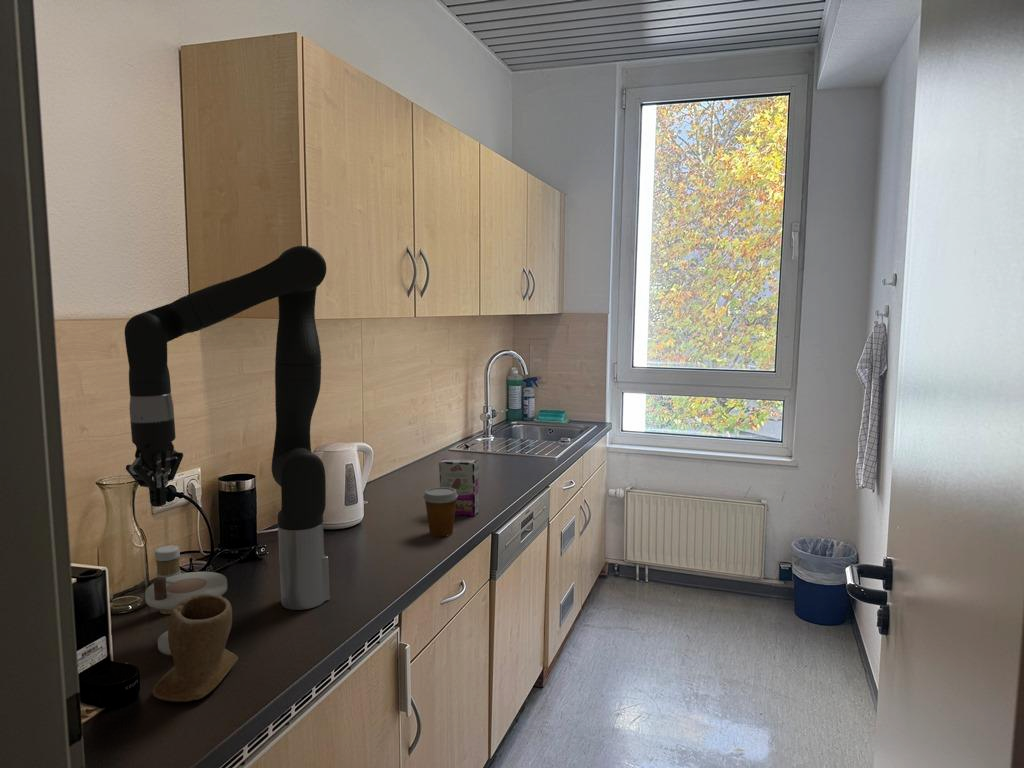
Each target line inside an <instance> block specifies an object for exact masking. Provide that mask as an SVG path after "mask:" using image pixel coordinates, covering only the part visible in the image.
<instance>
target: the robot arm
mask: <svg viewBox="0 0 1024 768" xmlns="http://www.w3.org/2000/svg"><path fill="white" fill-rule="evenodd" d="M326 262H327V261H326V260H325V258H324V256H323V255H322V254H321V253H320V252H319V251H318V250H316V249H315V248H312V247H311V246H308V245H306V246H305V245H297V246H293V247H290V248H288V249H286V250H284V251H283V252H282V253H281V254H279V256H278V257H277V258H275V259H274V260H272V261H271V262H268V263H267V264H266V265H263V266H262V267H259V268H258V269H257V268H256V269H255V270H253V271H250V272H248V273H245V274H242V275H240V276H237V277H234V278H231V279H228V280H224V281H222V282H219V283H215V284H212V285H210V286H206V287H204V288H201V289H199V290H196V291H194V292H192V293H189V294H186V295H184V296H182V297H180V298H178V299H176V300H174V301H172V302H170V303H167V304H164V305H161V306H158V307H156V308H153V309H149V310H146V311H144V312H141V313H138V314H135V315H133V316H132V317H131V318H130V319H128V321H127V322H126V324H125V327H124V341H125V349H126V355H127V362H128V386H129V387H128V388H129V395H130V396H129V418H130V419H129V420H130V431H131V433H130V434H131V442H132V443H133V444H134V446H135V447H136V449H135V453H134V458H135V459H134V460H133V462H131V464H127V465H126V466H125V470H126V472H127V473H128V474H129V475H130V476H131V478H132V479H134V481H135V482H136V483H137V484H138V486H140V487H143V488H147V489H148V493H149V503H150V505H151V506H152V507H154V508H155V507H157V508H160V507H162V506H166V504H167V499H168V498H167V485H168V484H169V482H170V481H173V480H174V479H175V477H176V474H177V472H178V469H179V468H180V466H181V463H182V460H183V458H184V453H183V452H178V451H177V450H175V447H174V443H173V442H174V441H175V440H176V425H175V422H176V421H175V412H174V411H175V410H174V403H173V398H172V390H171V389H172V388H171V385H172V384H171V375H170V370H169V367H168V343H169V342H171V341H173V340H175V339H177V338H180V337H182V336H184V335H187V334H191V333H195V332H199V331H200V330H201V331H202V330H204V329H206V328H208V327H211V326H213V325H216V324H219V323H220V322H223V321H225V320H227V319H229V318H232V317H233V316H236V315H238V314H241V313H242V312H244V311H246V310H249V309H250V308H251V309H252V308H253V307H255V306H258V305H259V304H262V303H264V302H267V301H269V300H272V299H275V298H277V300H278V323H277V332H276V342H275V343H276V344H275V358H274V359H275V360H274V363H275V364H274V365H275V366H274V387H275V388H274V389H275V390H274V391H275V394H274V395H275V396H274V397H275V398H274V399H275V401H274V403H275V404H274V405H275V435H274V436H275V437H274V443H273V444H274V445H273V451H272V458H271V473H272V477H273V479H274V481H275V482H276V484H277V485H278V486H279V487H280V488H281V489H280V491H281V492H280V493H281V494H280V495H281V496H280V497H281V508H280V509H281V510H279V512H278V513H277V536H278V554H279V555H278V557H279V579H280V580H279V581H280V584H279V585H280V599H281V600H280V601H281V602H280V603H281V606H282V607H283V608H284V609H288V610H295V611H300V610H308V609H312V608H317V607H318V606H321V605H322V604H323V603H324V602H326V601H329V600H330V599H331V597H330V571H329V557H328V556H327V555H326V554H325V539H324V513H325V510H326V503H327V501H326V499H327V498H326V496H327V495H326V494H327V493H326V492H327V491H326V489H327V488H326V485H327V484H326V483H327V481H326V469H325V466H324V465H325V464H324V463H323V461H322V459H321V458H320V457H319V456H318V455H317V454H315V453H313V452H312V445H311V444H312V443H311V423H312V418H313V414H314V410H315V408H316V405H317V401H318V398H319V394H320V390H321V383H322V382H321V381H322V351H321V346H320V340H319V335H318V334H319V333H318V329H317V325H316V317H315V316H316V315H315V312H316V310H315V308H316V296H317V289H318V287H319V286H321V284H322V283H323V281H324V279H325V277H326V274H327V263H326Z"/></svg>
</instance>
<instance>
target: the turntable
mask: <svg viewBox="0 0 1024 768" xmlns="http://www.w3.org/2000/svg"><path fill="white" fill-rule="evenodd" d="M227 590H228V579H227V577H226V576H225V575H224V574H221V573H218V572H215V571H191V572H185V573H184V572H183V573H181V574H178V575H174V576H170V577H167V578H164V577H160V578H155V579H153V583H151V584H150V585H149V586H148V587H146V589H145V592H144V594H145V595H144V597H145V603H146V604H147V605H148V607H151V608H154V609H158V610H159V609H174V608H175V607H176V606H177V604H178V603H179V602H181V601H182V600H184V599H186V598H188V597H190V596H194V595H199V594H215V595H219V596H222V597H223V595H224V594H225V593H226V592H227Z"/></svg>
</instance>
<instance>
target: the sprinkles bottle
mask: <svg viewBox="0 0 1024 768" xmlns="http://www.w3.org/2000/svg"><path fill="white" fill-rule="evenodd" d="M180 551H181V550H180V546H177V545H166V546H161V547H159V548H156V550H155V551H154V558H155V559H154V560H155V561H156V572H157V573H156V577H157V578H160V577H164V578H167V577H170V576H174V575H178V574H182V573H181V568H180V567H181V566H180V555H181V553H180ZM158 610H159V613H160V614H162V615H171V614H172V611H173V609H158Z"/></svg>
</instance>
